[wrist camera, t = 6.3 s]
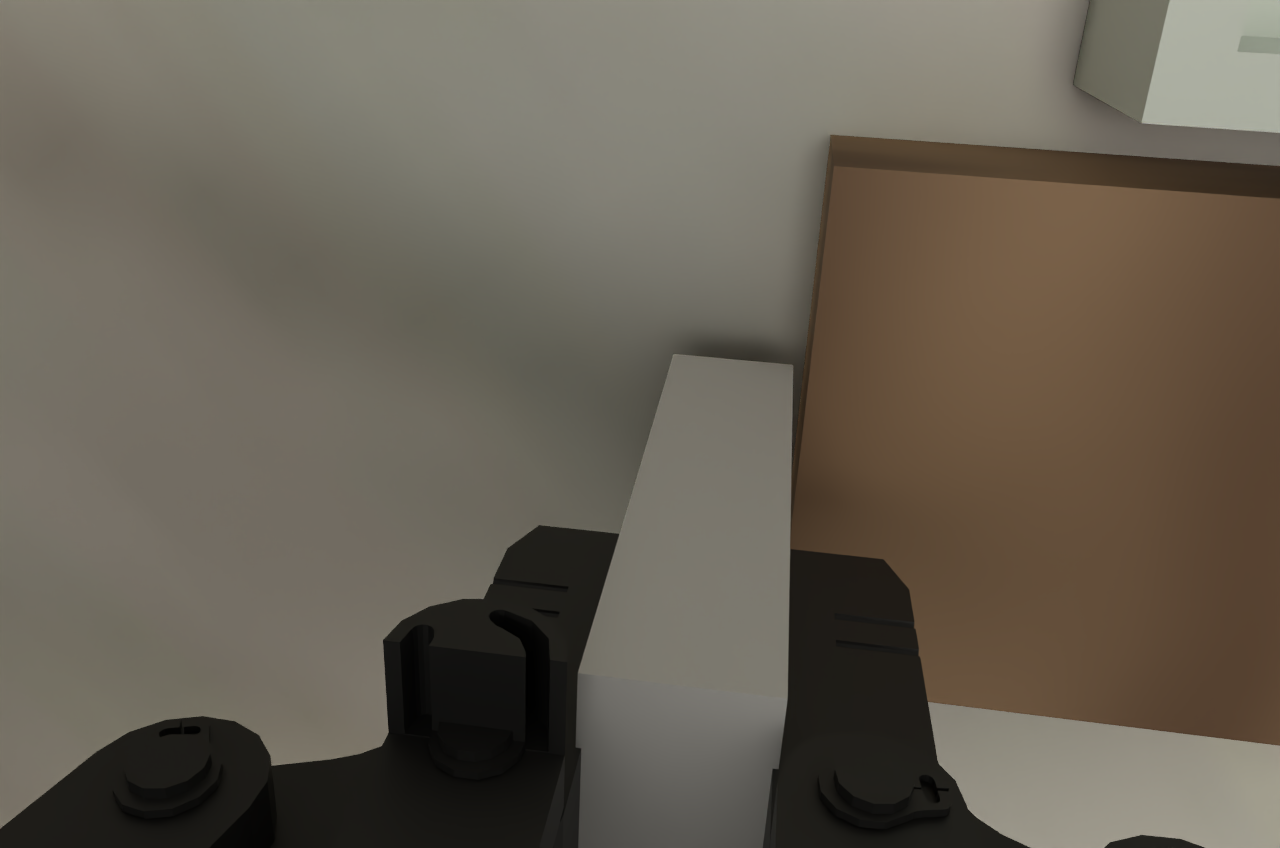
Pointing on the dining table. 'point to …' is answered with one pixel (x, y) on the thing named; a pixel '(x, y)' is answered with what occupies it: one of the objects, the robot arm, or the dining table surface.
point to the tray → (1185, 61)
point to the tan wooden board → (1055, 424)
